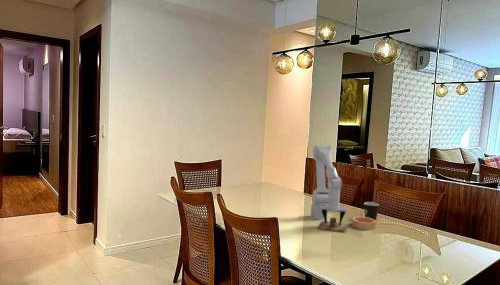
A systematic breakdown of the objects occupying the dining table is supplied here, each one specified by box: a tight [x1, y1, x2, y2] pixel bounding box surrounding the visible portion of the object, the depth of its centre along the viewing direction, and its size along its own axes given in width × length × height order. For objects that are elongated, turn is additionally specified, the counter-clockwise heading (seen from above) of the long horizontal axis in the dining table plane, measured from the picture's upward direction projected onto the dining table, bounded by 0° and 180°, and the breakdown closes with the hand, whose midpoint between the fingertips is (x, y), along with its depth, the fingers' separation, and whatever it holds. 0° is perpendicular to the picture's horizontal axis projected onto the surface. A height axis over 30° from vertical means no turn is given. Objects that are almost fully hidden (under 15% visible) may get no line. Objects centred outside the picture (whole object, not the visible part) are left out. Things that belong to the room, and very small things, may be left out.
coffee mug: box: [363, 201, 380, 221], centre depth 215 cm, size 12×9×10 cm
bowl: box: [352, 216, 377, 231], centre depth 201 cm, size 12×12×4 cm
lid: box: [318, 217, 347, 233], centre depth 197 cm, size 13×13×5 cm
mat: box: [316, 221, 349, 234], centre depth 197 cm, size 15×15×1 cm
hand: (332, 224), depth 197 cm, fingers open, 7 cm apart
